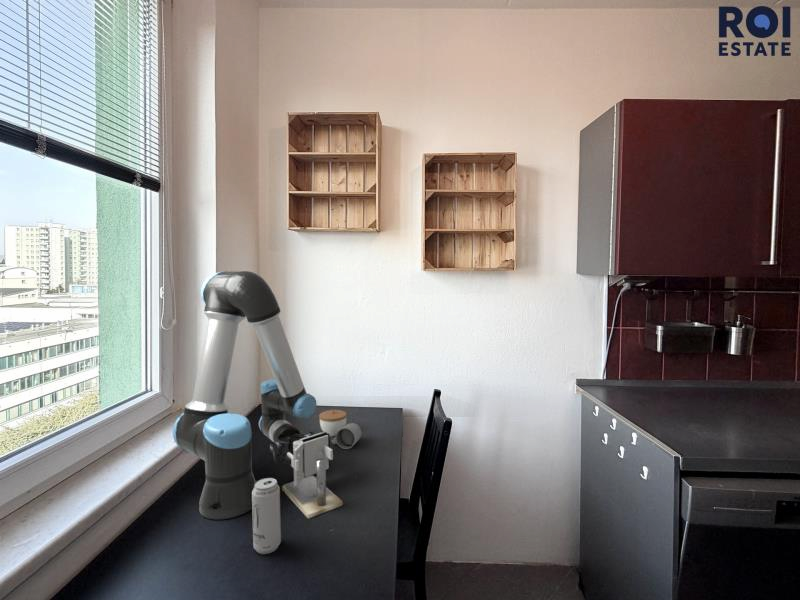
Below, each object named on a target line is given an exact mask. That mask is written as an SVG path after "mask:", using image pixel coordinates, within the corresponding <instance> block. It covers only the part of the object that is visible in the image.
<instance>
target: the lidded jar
mask: <svg viewBox="0 0 800 600" xmlns="http://www.w3.org/2000/svg"><path fill="white" fill-rule="evenodd" d="M347 416H348V414H347V412H346V411H344V410H340V409H330V410H329V409H328V410H324V411H322V412H320V413H319V415H318V417H319V425H320V429H321V430H322V432H323V433H325V432H327V434H330V437H336V434H337V432H338V430H339V429H341V428H342V427H344V426H345V425H347Z"/></svg>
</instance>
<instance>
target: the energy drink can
mask: <svg viewBox="0 0 800 600" xmlns="http://www.w3.org/2000/svg"><path fill="white" fill-rule="evenodd" d="M254 486H255V487H254V489H253V491H252V509H251V510H252V511H251V513H252V540H253V541H252V542H253V543H252V545H253V546H252V547H253V549H254V550H255V551H256V552H257V553H258V554H260V555H267V554H270V553H273V552H276V550H277V549H278V548H279V545H280V544H281V542H282V527H281V522H282V521H281V520H282V519H281V490H280V489H281V487H280V486H279V484H278V481H277V479H275V478H273V477H266V478H261V479H259V480H256V483H255V485H254Z"/></svg>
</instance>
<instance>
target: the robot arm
mask: <svg viewBox="0 0 800 600" xmlns="http://www.w3.org/2000/svg"><path fill="white" fill-rule="evenodd" d="M200 295H201V296H200V297H201V300H202V301H203V303H204V304H205V305H204V310H203V313H204V315H205V316H206V317H207V325H206V330H205V334H204V340H203V345H202V350H201V354H200V359H199V364H198V370H197V375H196V380H195V385H194V390H193V395H192V399H191V401H190V402H188V403H187V404H185V406H184V409H183V412H182V413H181V415H180V416H179V417H177V419H176V421H175V422H174V426H173V428H172V437H173V440H174V443H175V445H177V446H178V447H179V449H181V450H182V451H183V452H185V453H186V454H190V455H192V456H194V457H197V458H198V459H201V460H203V461H204V467H205V471H204V472H205V482H204V485H203V488H202V492H201V495H200V498H199V502H198V504H199V510H198V511H199V513H200V515H201V516H202V517H204V518H206V519H209V520H226V519H232V518H236V517H238V516H239V517H240V516H242V515H243V514H246V513H247V512H250V511H251V510H252V491H253V489H254V487H255V486H254V485H255V483H256V482H257V480H256V479H255V475H254V472H253V466H252V465H253V462H252V461H253V458H252V457H253V456H252V453H253V452H252V435H253V432H252V427H251V422H250V420H249V419H248V417H247V416H244V415H242V414H240V413H231V412H229V407H228V406H227V405H226V403H225V398H226V393H227V388H228V382H229V376H230V373H231V372H230V371H231V366H232V360H233V355H234V350H235V344H236V340H237V335H238V329H239V324H240V323H241V322H243V320H245V319H246V321H247V322H248V324H251V325H252V326H253V328H254V330H255V333H256V336H257V338H258V341H259V343H260V346H261V348H262V351H263V353H264V356H265V359H266V361H267V364H268V365H269V366H268V367H269V369H270V371H271V373H272V374H271V375H272V377H273V379H268V380H264V381H263V382H262V383H261V386H260V400H261V416H260V418H259V420H258V427H259V430H260V431H261V433H262V434H263V435H264V436H266V437H267V438H268V439H269V440H270V442H269V449H270V452H271V453H272V455H273V460H274V464H279V463H280V462H281V464H282V466H286V465H287V466H290V467H291V468H292V469H294V461H293V454H292V453H291V450H293V442H295V441H298V440H300V439H302V438H305V437H308V436H312V435H315V434H316V433H314V432H313V431H309V432H308V434H303V433H301V432H300V431H299V429H298V428H297V427H296V426H294V425H293V424H292V423H290V422H289V421H288V420H286V415H289V416H292V417H295V418H299V419H308V418H310V417H311V416H313V414H314V413H315V412H316V409H317V400H316V397H315V396H314V395H312V394H310V393H307V390H306V388H305V385H304V383H303V379H302V377H301V374H300V371H299V368H298V366H297V363H296V361H295V357H294V354H293V352H292V349H291V346H290V343H289V340H288V338H287V335H286V332H285V330H284V326H283V324H282V321H281V319H280V316H279V315H280V314H281V312H282V311H281V308H280V306H279V303H278V300H277V297H276V295H275V294H274V292H273V291H272V289H271V287H270V285H269V284H268V283H267V281H265V279H264V278H263V277H262V276H260V275H258V274H257V273H255V272H252V271H249V270H243V271H234V270H233V271H224V270H223V271H220V272H215V273H213V274H211V275H209V276H208V277H207V278H205V280H204V282H203V283H202V286H201V290H200ZM228 412H229V413H228ZM279 449H280V450H282V452H281V454H280V452H279ZM333 454H334V453H333V449H332V448H331V445H330V446H326V445H325V446H324V455H325V456H326V457H327V458H329V459H330V461H333V460H334V455H333ZM295 470H296V471H298V470H299V460H298V459H297V460H295Z"/></svg>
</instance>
